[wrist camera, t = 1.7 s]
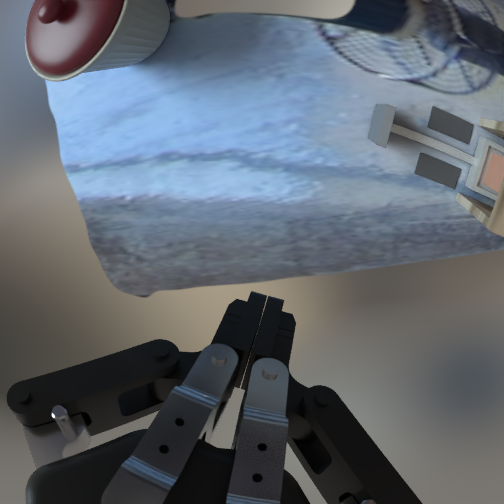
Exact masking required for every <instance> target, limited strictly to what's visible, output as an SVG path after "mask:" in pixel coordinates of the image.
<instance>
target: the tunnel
mask: <svg viewBox="0 0 504 504" xmlns="http://www.w3.org/2000/svg"><path fill="white" fill-rule="evenodd" d="M478 125H479V126H480V127H482V128H484V129H486V130H488V131H490V132H492V133H494V134H495V135H497V136H499V137H501V138H503V139H504V122H499V121H494V120H488V119H483V118H480V120H479V124H478ZM456 200H457V201H458V202H459V203H460V204H461V205H462V206H464V207H465V208H466V209H467V210H468V211H469V212H470V213H471V214H473V215H474V216H475V217H476V218H477V219H478V220H479V221H480V222H481V223H482V224H483V225H485V226H486V227H487V228H488V229H489V230H490V231H491V232H493V233H496V234H498V235H500V236H503V237H504V179H503V182H502V185H501V188H500V191H499V194H498V197H497V200H496V202H495V205H494V208H492V207H490V206H488V205H486V204H484V203H482V202H479V201H477V200H475V199H472V198H470V197H468V196H466V195H463V194H461V193H458V194H457V197H456Z"/></svg>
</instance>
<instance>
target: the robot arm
mask: <svg viewBox="0 0 504 504" xmlns="http://www.w3.org/2000/svg"><path fill="white" fill-rule="evenodd" d="M266 298H267V296H266V295H263V294H260V293H256V292H253V291H252V292H251V293H250V296H249V298H248V301H247V302H246V301H243V300H239V299H236V300H235V301H233V302H232V303H231V304H229V306H228V308H227V310H226V312H225V314H224V316H223V319H222V321H221V323H220V325H219V327H218V329H217V332H216V334H215V336H214V338H213V340H212V342H211V344H210V345H208V346H207V347H205V348H204V349H203V350H202V351H199V352H179V349H178V348H177V346H176V345H175V344H173V343H172V342H170V341H167V340H163V339H158V340H153V341H150V342H147V343H144V344H141V345H138V346H135V347H132V348H129V349H126V350H123V351H120V352H117V353H114V354H111V355H107V356H104V357H101V358H98V359H95V360H92V361H89V362H85V363H82V364H79V365H76V366H72V367H69V368H66V369H62V370H59V371H55V372H52V373H49V374H45V375H42V376H38V377H35V378H31V379H27V380H24V381H20V382H17V383H15V384H14V385H12V387H11V388H10V389H9V391H8V394H7V403H8V406H9V407H10V409H11V410H12V411H13V413H14V414H15V416H16V418H17V420H18V421H19V422H20V424H21V425H22V426H23V429H24V433H25V436H26V439H27V442H28V445H29V448H30V451H31V454H32V457H33V460H34V463H35V466H36V468H37V470H36V471H35V472H33V474H32V475H31V476H30V478H29V480H28V483H27V485H26V504H310V502H309V501H308V499H307V497H306V496H305V494H304V492H303V491H302V489H301V487H300V486H299V484H298V483H297V481H296V480H295V479H294V477H293V476H292V475H291V474H290V473H289V472H287V471H286V470H285V469H284V464H285V454H286V444H287V442H288V444H289V445H290V447H291V448H292V450H293V452H294V453H295V455H296V456H297V458H298V459H299V461H300V462H301V464H302V466H303V467H304V469H305V470H306V472H307V474H308V475H309V477H310V478H311V479H312V481H313V483H314V484H315V486H316V487H317V489H318V490H319V492H320V493H321V495H322V496H323V497H324V499H325V500H326V502H327V503H328V504H422V503H421V501H420V500H419V499H418V498H417V496H416V495H415V494H414V492H413V491H412V490H411V489H410V487H409V486H408V485H407V484H406V482H405V481H404V480H403V478H402V477H401V476H400V475H399V473H398V472H397V471H396V470H395V468H394V467H393V466H392V464H391V463H390V462H389V461H388V459H387V458H386V457H385V456H384V454H383V453H382V452H381V450H380V449H379V448H378V447H377V445H376V444H375V443H374V441H373V440H372V439H371V437H370V436H369V435H368V434H367V432H366V431H365V430H364V428H363V427H362V426H361V425H360V423H359V422H358V421H357V419H356V418H355V417H354V416H353V414H352V413H351V412H350V410H349V409H348V408H347V406H346V405H345V404H344V402H343V401H342V400H341V398H340V397H339V396H338V394H336V392H335V391H333V390H332V389H331V388H329V387H326V386H321V385H317V386H313V387H310V388H307V387H305V386H304V385H302V384H300V383H299V382H297V381H296V380H295V379H294V378H293V377H292V376H291V374H290V372H289V360H290V354H291V349H292V343H293V337H294V331H295V326H296V322H295V319H294V317H293V314H290V313H286V312H283V311H282V307H283V303H284V300H282V299H278V298H275V297H271V296H268V299H267V302H266ZM265 302H266V306H265ZM264 306H265V309H264ZM263 309H264V312H263ZM262 313H263V315H262ZM261 317H262V319H261ZM260 320H261V322H260ZM259 324H260V325H259ZM257 331H258V332H257ZM256 334H257V335H256ZM255 337H256V338H255ZM252 347H253V348H252ZM251 350H252V351H251ZM250 353H251V354H250ZM249 356H250V358H249ZM248 360H249V361H248ZM247 363H248V365H247ZM246 366H247V369H246ZM245 369H246V372H245ZM244 372H245V376H244V380H243V383H242V387H241V389H244V390H245V393H244V396H243V399H242V403H241V406H240V411H239V415H238V420H237V425H236V429H235V434H234V439H233V443H232V447H231V449H223V448H216V447H214V446H213V445H211V444H210V441H211V438H212V436H213V433H214V431H215V429H216V426H217V425H218V422H219V420H220V418H221V416H222V414H223V411H224V410H225V408H226V405H227V403H228V400H229V398H230V397H231V395H232V392H233V389H234V387H237V388H240V384H241V381H242V378H243V375H244ZM159 410H160V411H159ZM156 411H159V412H158V414H157V415H156V417H155V419H154V420H153V422H152V423H151V425H150V426H149V428H148V429H142V430H137V431H133V432H130V433H128V434H126V435H123V436H121V437H119V438H116V439H114V440H111V441H109V442H106V443H104V444H101V445H99V446H96V447H94V448H91V449H88V450H86V451H84V452H81V451H83V450H85V449H86V448H87V447H88V445H89V444H90V441H91V436H93V435H96V434H99V433H101V432H104V431H107V430H110V429H113V428H115V427H118V426H121V425H123V424H126V423H129V422H131V421H134V420H136V419H139V418H141V417H144V416H147V415H149V414H151V413H154V412H156ZM79 452H80V453H79Z"/></svg>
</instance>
